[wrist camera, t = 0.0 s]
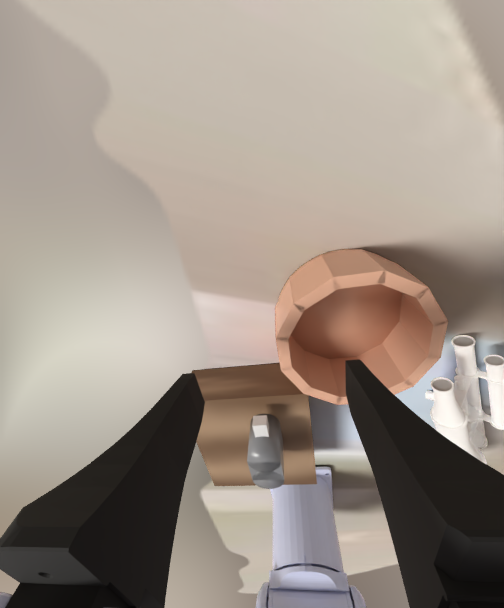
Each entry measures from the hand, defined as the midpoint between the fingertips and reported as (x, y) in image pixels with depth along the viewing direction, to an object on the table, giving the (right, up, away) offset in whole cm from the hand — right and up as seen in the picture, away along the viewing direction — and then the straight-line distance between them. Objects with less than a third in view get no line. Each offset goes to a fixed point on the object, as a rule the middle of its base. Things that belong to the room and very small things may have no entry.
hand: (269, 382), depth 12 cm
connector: (0, -8, +11) cm, 14 cm away
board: (0, -8, +16) cm, 18 cm away
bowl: (+7, +3, +9) cm, 12 cm away
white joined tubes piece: (+18, -5, +13) cm, 23 cm away
